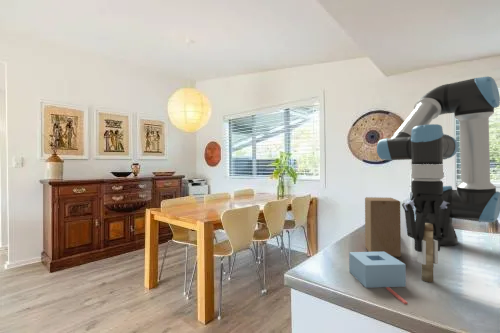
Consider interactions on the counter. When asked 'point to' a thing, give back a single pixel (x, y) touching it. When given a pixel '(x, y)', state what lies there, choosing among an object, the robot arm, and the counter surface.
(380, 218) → the wooden block
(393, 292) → the thin red rod
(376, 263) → the blue block with hole
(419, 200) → the robot arm
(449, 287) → the counter surface
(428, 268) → the tan brown rod
